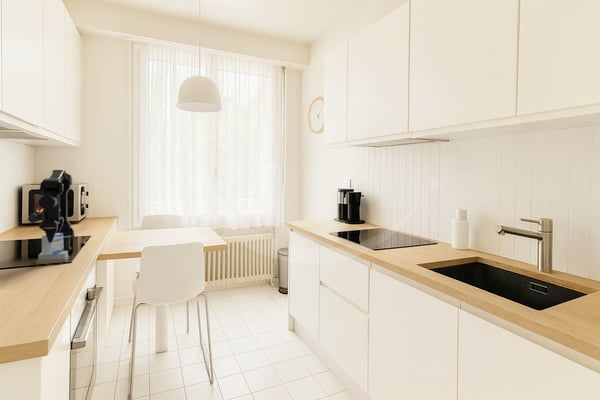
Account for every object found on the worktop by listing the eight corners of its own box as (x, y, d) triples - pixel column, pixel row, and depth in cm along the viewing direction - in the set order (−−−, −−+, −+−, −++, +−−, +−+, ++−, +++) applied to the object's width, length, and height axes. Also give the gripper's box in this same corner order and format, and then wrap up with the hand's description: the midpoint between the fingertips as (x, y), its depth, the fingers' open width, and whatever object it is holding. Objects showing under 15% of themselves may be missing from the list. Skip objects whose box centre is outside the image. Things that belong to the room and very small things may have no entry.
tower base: (39, 262, 152) (39, 257, 152) (68, 260, 157) (68, 255, 157) (36, 266, 146) (36, 261, 145) (65, 264, 151) (65, 259, 151)
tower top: (42, 257, 152) (41, 252, 152) (67, 255, 156) (67, 250, 156) (38, 260, 146) (38, 255, 146) (65, 258, 151) (65, 253, 151)
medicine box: (51, 255, 147) (51, 236, 146) (41, 254, 147) (41, 236, 146) (63, 250, 155) (63, 233, 154) (54, 250, 155) (54, 232, 154)
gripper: (35, 205, 154) (35, 237, 155) (23, 209, 137) (24, 245, 138) (63, 205, 159) (64, 236, 160) (56, 209, 142) (56, 244, 143)
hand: (52, 240), depth 150 cm, fingers open, 9 cm apart
